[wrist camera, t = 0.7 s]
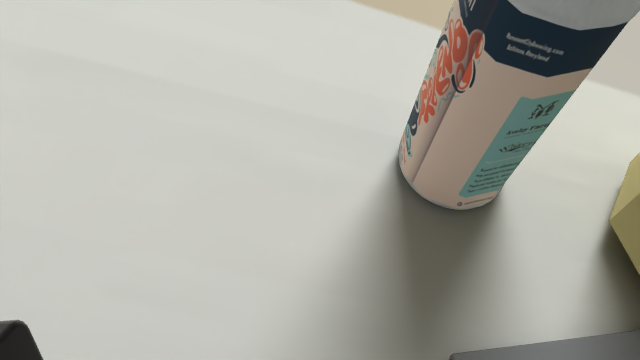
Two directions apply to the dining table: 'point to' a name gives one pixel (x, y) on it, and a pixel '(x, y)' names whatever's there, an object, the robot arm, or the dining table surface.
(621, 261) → the dining table surface
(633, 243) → the jar
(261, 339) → the dining table surface
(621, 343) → the mat
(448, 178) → the beer can
